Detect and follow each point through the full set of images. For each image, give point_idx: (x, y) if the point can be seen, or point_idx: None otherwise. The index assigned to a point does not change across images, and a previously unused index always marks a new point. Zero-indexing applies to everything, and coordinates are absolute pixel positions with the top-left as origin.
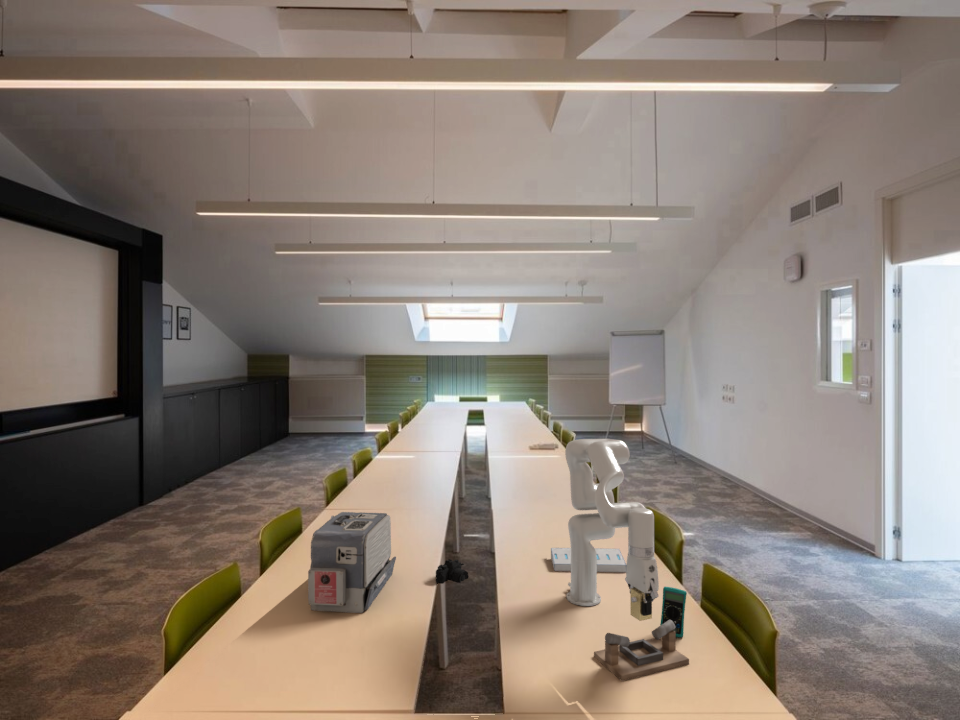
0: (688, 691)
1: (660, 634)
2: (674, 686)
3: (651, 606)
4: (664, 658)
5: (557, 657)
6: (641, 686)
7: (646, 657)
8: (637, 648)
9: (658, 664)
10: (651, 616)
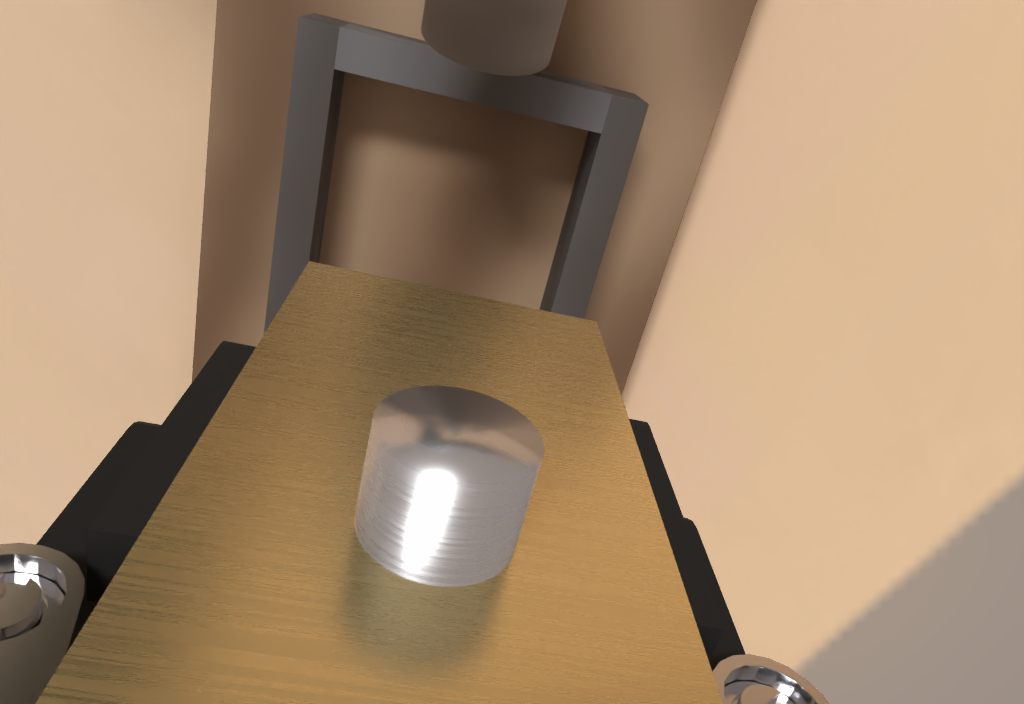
0: (976, 258)
1: (563, 10)
2: (863, 290)
3: (682, 528)
4: (629, 56)
5: None
6: (688, 473)
7: (584, 311)
8: (335, 136)
9: (653, 205)
10: (598, 346)
